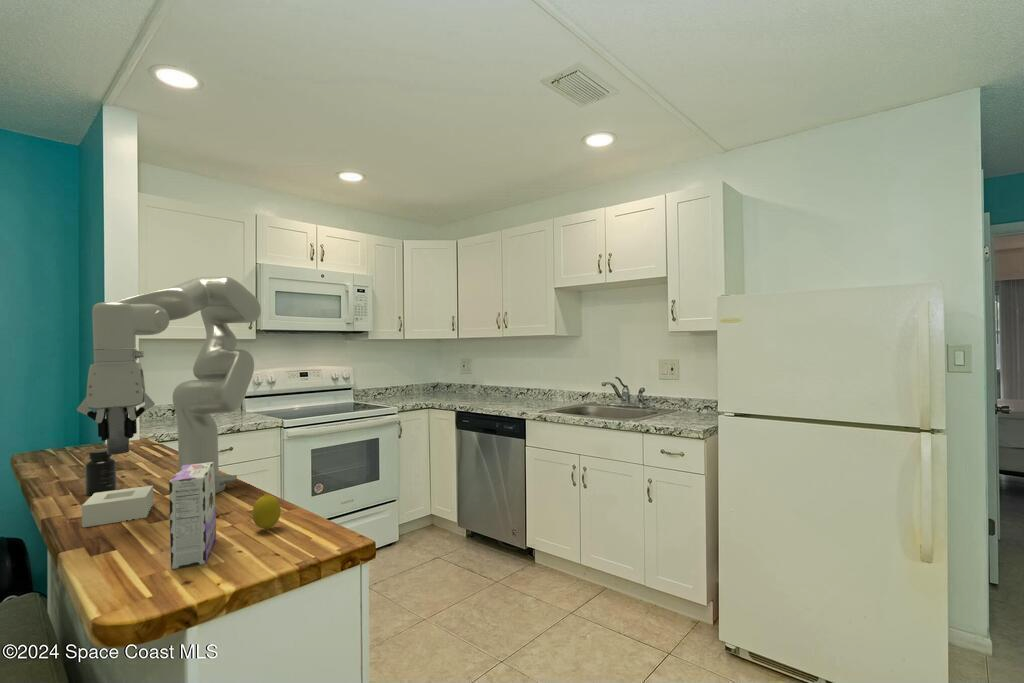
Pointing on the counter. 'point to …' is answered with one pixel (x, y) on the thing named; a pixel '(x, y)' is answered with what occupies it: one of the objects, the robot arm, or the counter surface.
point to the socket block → (117, 506)
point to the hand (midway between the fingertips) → (118, 437)
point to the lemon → (266, 512)
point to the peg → (117, 430)
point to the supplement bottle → (100, 472)
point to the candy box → (192, 515)
